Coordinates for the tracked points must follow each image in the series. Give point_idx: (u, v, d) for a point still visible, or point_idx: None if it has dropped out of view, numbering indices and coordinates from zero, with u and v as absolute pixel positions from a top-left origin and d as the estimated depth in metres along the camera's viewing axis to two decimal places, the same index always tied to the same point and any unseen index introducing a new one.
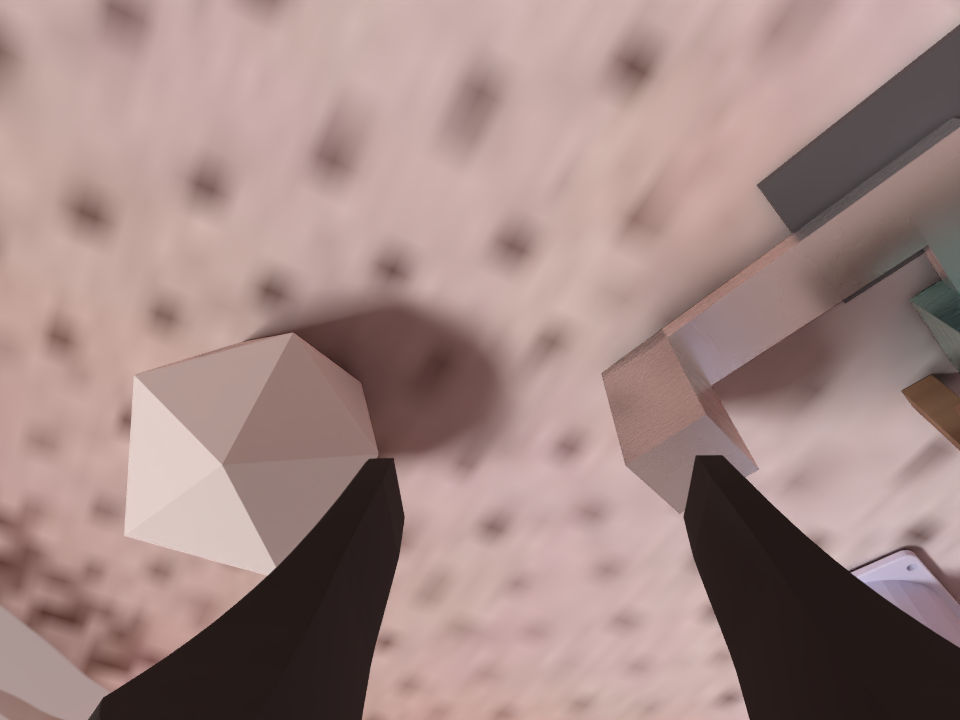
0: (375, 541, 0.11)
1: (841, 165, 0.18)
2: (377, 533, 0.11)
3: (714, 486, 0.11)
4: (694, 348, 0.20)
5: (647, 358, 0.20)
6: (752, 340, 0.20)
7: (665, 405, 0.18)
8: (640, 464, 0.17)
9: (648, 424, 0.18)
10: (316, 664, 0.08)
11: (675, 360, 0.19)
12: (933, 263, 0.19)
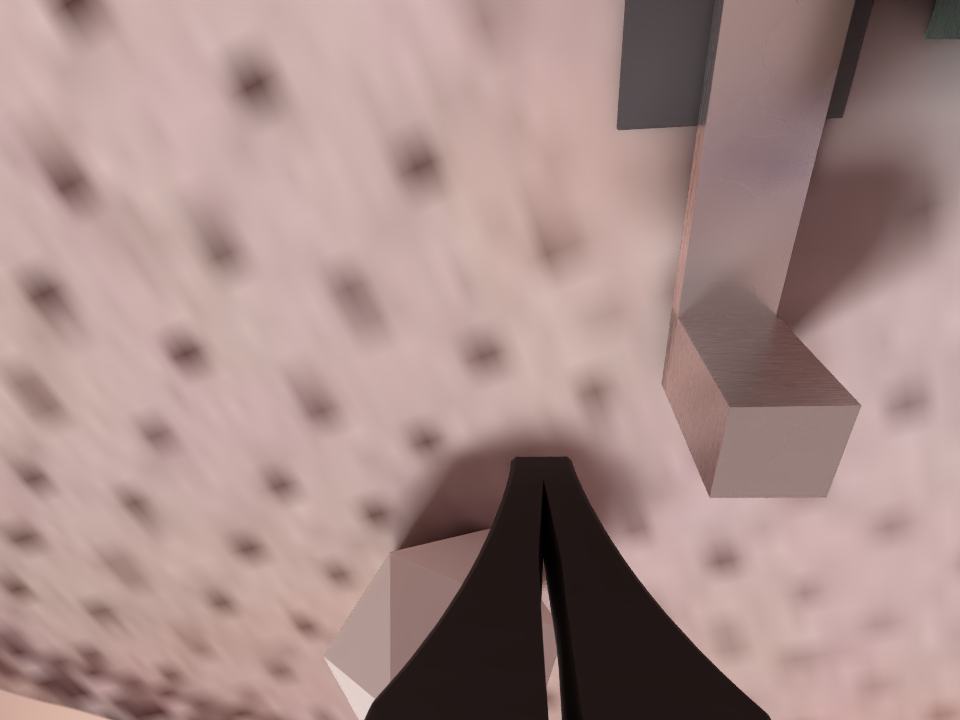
0: (541, 542, 0.11)
1: (672, 34, 0.14)
2: (541, 533, 0.11)
3: (544, 487, 0.11)
4: (716, 302, 0.17)
5: (677, 350, 0.17)
6: (768, 247, 0.16)
7: (704, 407, 0.15)
8: (723, 487, 0.14)
9: (704, 437, 0.15)
10: None
11: (691, 344, 0.16)
12: None
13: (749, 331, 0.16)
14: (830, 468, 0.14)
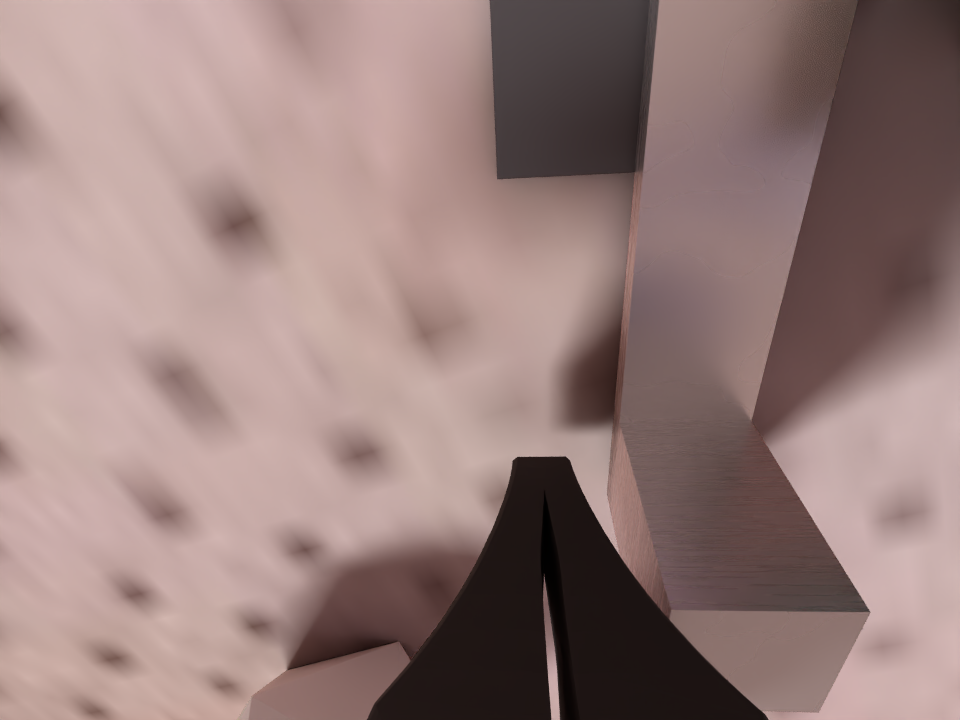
0: None
1: (560, 46, 0.09)
2: (543, 533, 0.11)
3: (542, 487, 0.11)
4: (670, 405, 0.12)
5: (619, 465, 0.13)
6: (737, 337, 0.11)
7: (645, 575, 0.10)
8: None
9: None
10: None
11: (631, 471, 0.11)
12: None
13: (713, 451, 0.12)
14: (823, 682, 0.09)
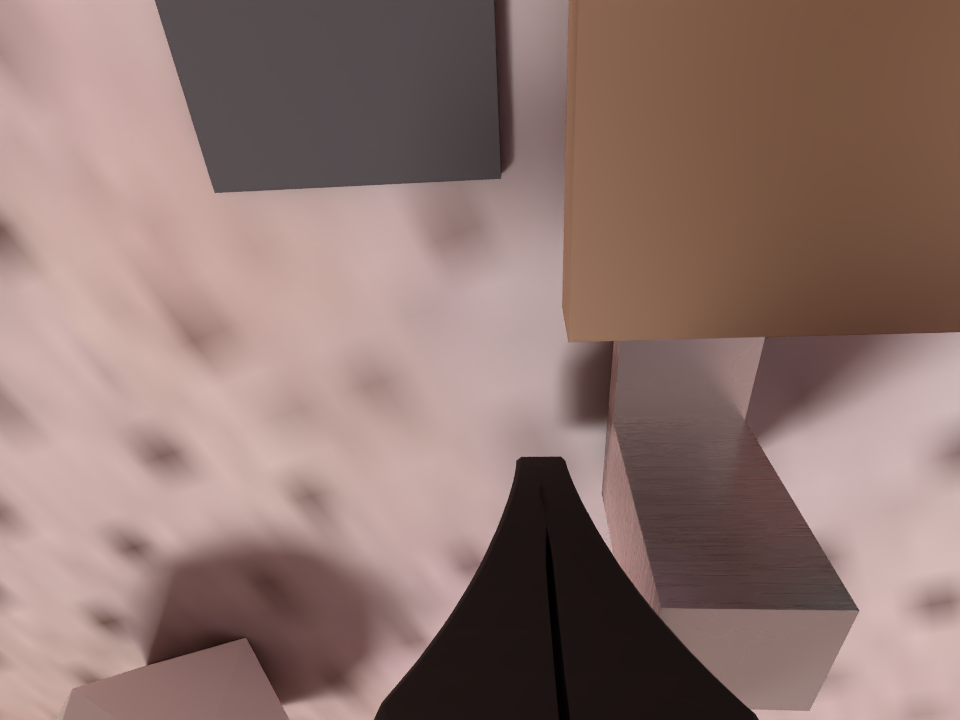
0: (547, 542, 0.11)
1: (239, 68, 0.10)
2: None
3: (537, 487, 0.11)
4: (663, 404, 0.12)
5: (613, 464, 0.13)
6: None
7: (637, 573, 0.10)
8: None
9: None
10: None
11: (624, 470, 0.11)
12: None
13: (706, 450, 0.12)
14: (814, 680, 0.09)
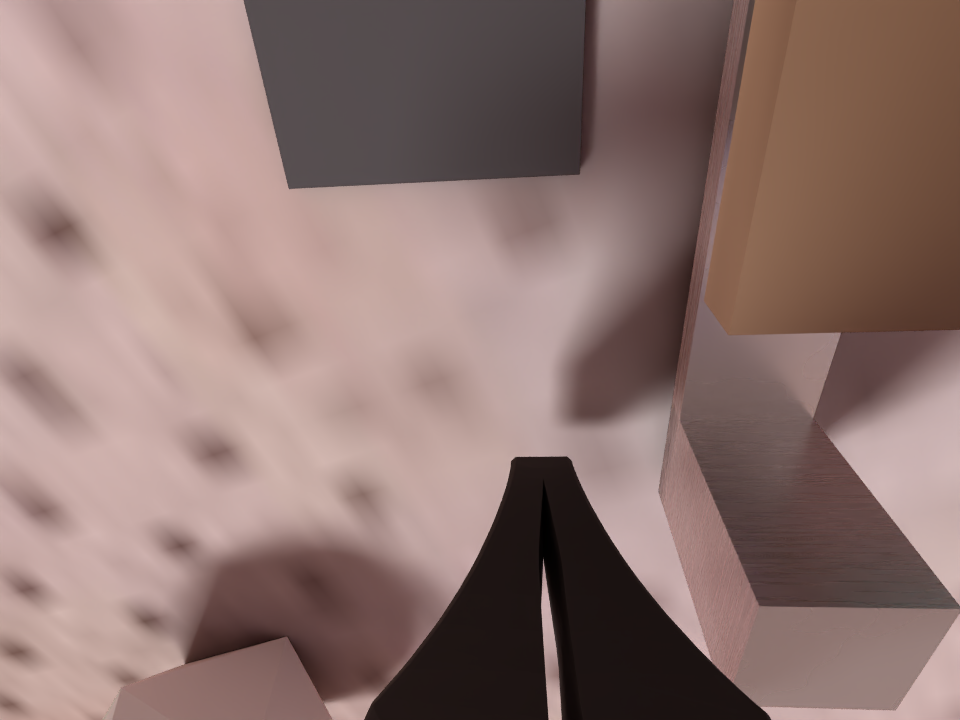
0: (541, 542, 0.11)
1: (322, 63, 0.10)
2: (541, 533, 0.11)
3: (544, 487, 0.11)
4: (732, 402, 0.12)
5: (678, 463, 0.13)
6: (805, 334, 0.11)
7: (719, 572, 0.10)
8: None
9: (717, 613, 0.10)
10: None
11: (698, 468, 0.11)
12: None
13: (778, 448, 0.11)
14: (905, 679, 0.09)
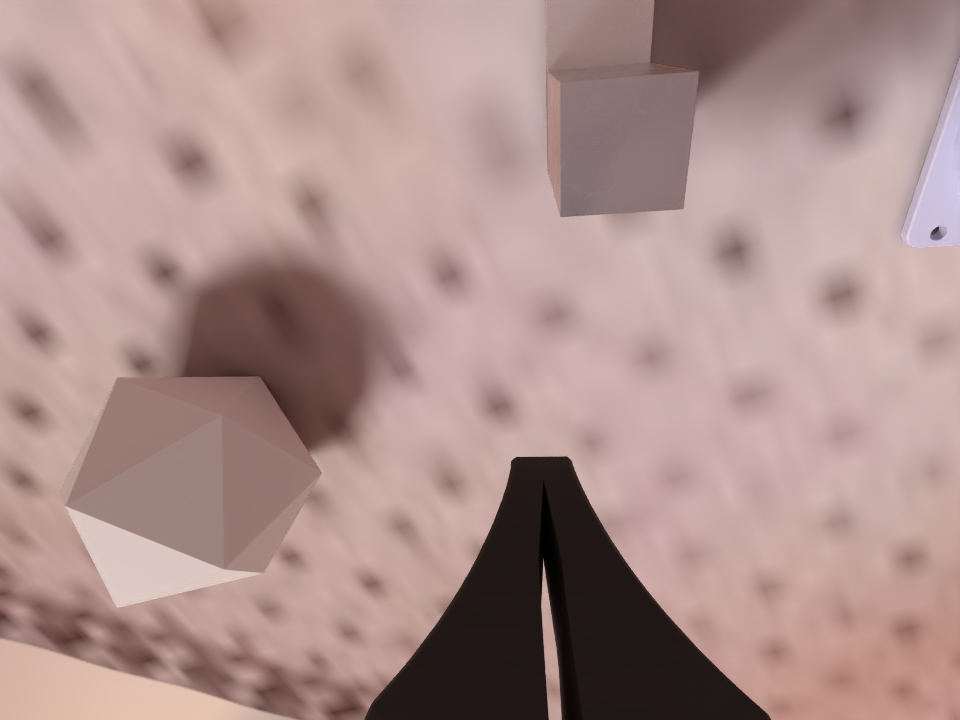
0: (541, 542, 0.11)
1: None
2: (541, 533, 0.11)
3: (544, 487, 0.11)
4: (585, 49, 0.16)
5: (548, 108, 0.16)
6: None
7: (556, 124, 0.14)
8: (572, 201, 0.13)
9: (557, 158, 0.14)
10: None
11: (551, 78, 0.15)
12: None
13: (615, 67, 0.15)
14: (680, 166, 0.13)
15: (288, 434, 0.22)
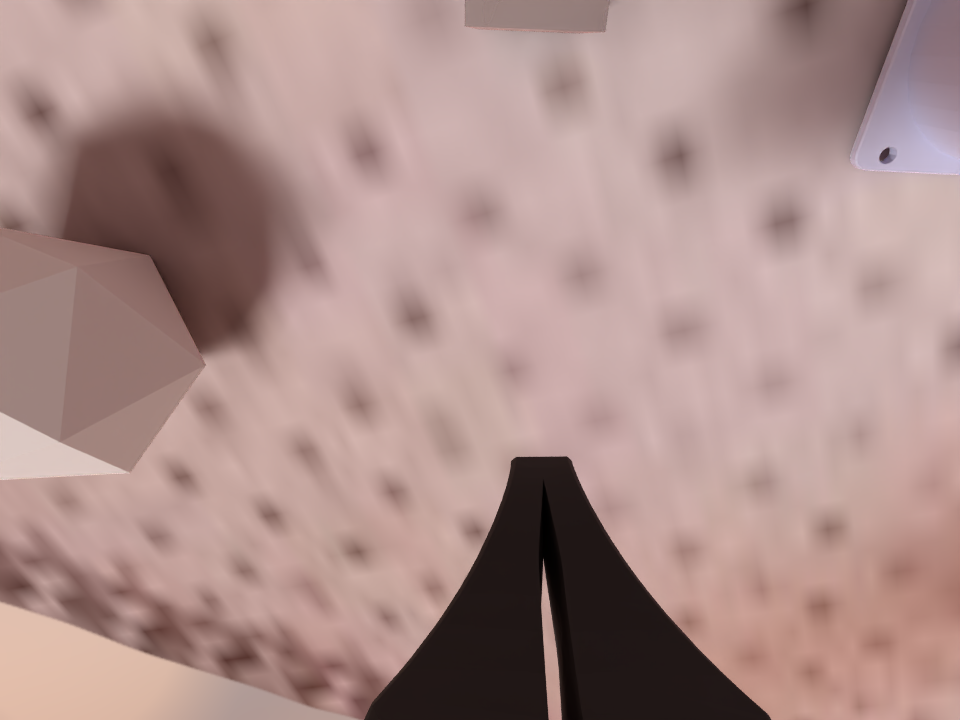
0: (541, 542, 0.11)
1: None
2: (541, 533, 0.11)
3: (544, 487, 0.11)
4: None
5: None
6: None
7: None
8: (479, 5, 0.11)
9: None
10: None
11: None
12: None
13: None
14: None
15: (171, 317, 0.20)
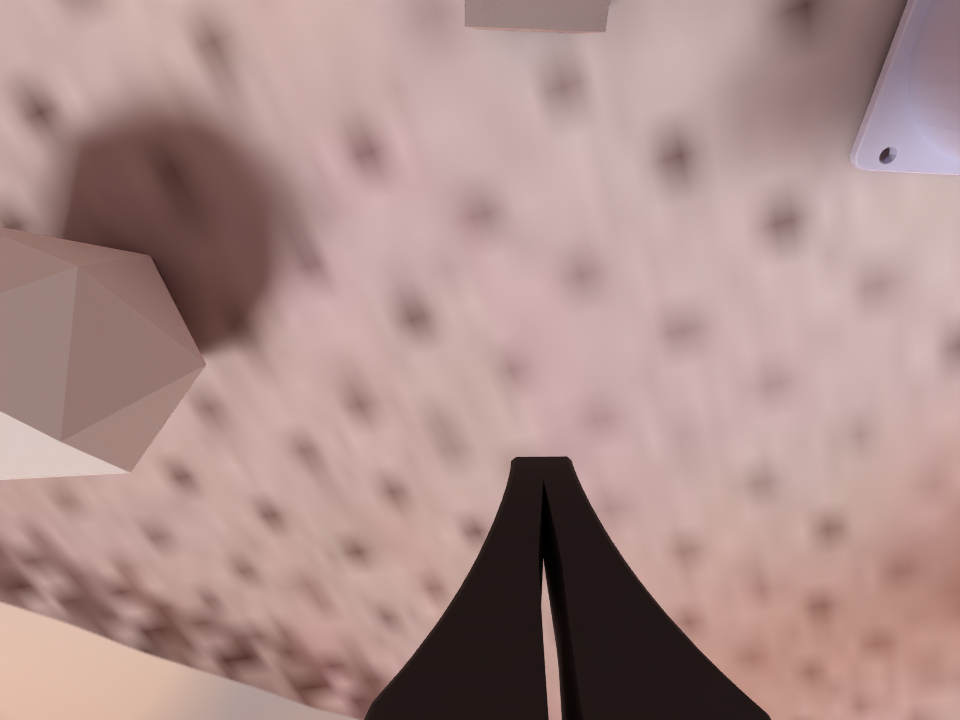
0: (541, 542, 0.11)
1: None
2: (541, 533, 0.11)
3: (544, 487, 0.11)
4: None
5: None
6: None
7: None
8: (479, 5, 0.11)
9: None
10: None
11: None
12: None
13: None
14: None
15: (171, 317, 0.20)
